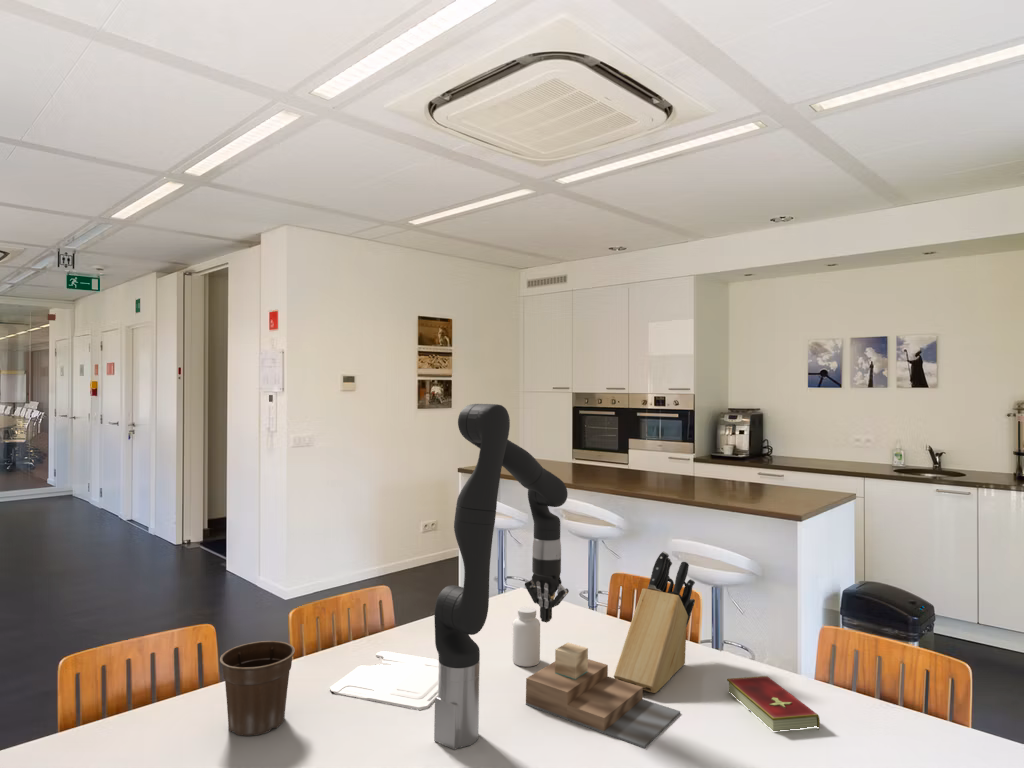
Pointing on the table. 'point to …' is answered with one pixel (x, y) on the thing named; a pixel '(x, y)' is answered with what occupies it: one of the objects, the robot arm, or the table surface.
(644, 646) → the knife block
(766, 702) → the hardcover book
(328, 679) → the table surface
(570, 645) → the maple cube
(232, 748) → the table surface
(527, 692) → the walnut staircase
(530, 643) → the pill bottle
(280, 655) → the plant pot
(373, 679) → the tray
